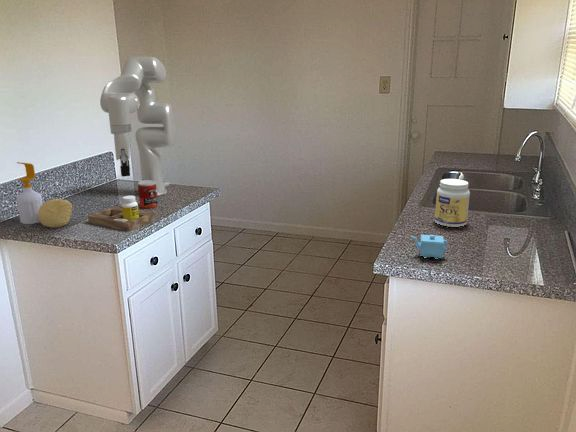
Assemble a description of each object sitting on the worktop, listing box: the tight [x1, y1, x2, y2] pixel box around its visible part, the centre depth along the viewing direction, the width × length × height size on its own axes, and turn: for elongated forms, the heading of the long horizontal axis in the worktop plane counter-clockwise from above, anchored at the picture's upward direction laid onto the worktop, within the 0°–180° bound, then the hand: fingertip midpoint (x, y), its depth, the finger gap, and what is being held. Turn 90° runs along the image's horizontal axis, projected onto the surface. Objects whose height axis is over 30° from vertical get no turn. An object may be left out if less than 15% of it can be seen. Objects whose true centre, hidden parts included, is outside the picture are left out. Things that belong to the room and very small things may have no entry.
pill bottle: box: [121, 195, 140, 221], centre depth 209 cm, size 6×6×11 cm
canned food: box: [137, 180, 159, 210], centre depth 231 cm, size 8×8×11 cm
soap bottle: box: [16, 161, 44, 225], centre depth 211 cm, size 9×9×25 cm
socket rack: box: [87, 205, 155, 232], centre depth 212 cm, size 14×22×3 cm, turn 61°
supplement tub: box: [434, 178, 471, 228], centre depth 204 cm, size 12×12×17 cm
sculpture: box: [38, 198, 73, 229], centre depth 208 cm, size 11×12×11 cm
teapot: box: [410, 234, 449, 259], centre depth 175 cm, size 12×6×8 cm, turn 77°
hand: (125, 173), depth 205 cm, fingers open, 9 cm apart
